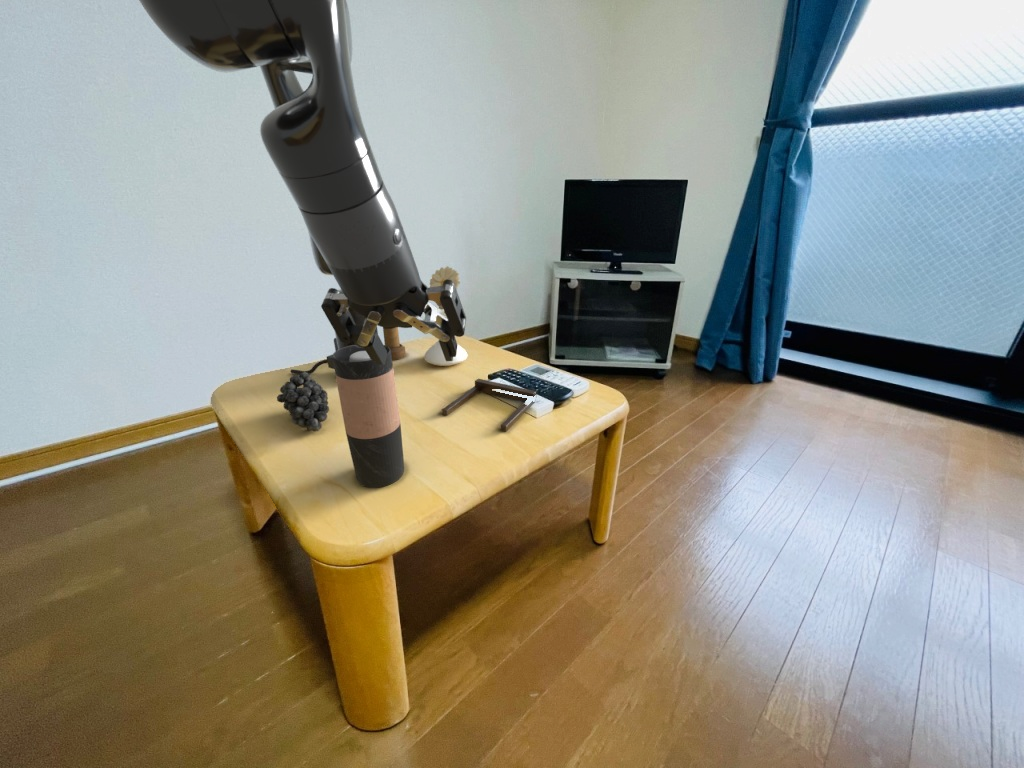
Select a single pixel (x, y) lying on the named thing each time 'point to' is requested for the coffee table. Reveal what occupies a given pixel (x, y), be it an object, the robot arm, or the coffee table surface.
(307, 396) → the fruit
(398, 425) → the travel mug
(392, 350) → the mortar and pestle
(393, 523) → the coffee table surface
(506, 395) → the walnut stand
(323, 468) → the coffee table surface
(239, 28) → the robot arm
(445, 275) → the flower in vase
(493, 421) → the coffee table surface
